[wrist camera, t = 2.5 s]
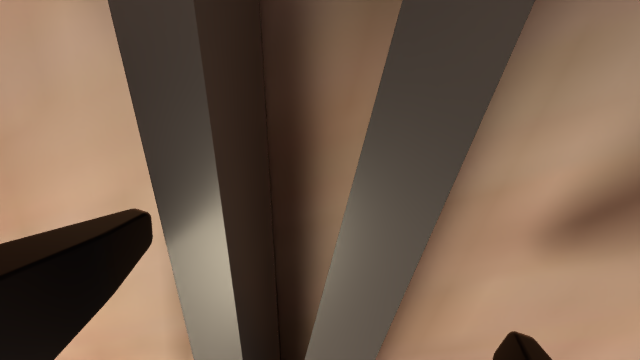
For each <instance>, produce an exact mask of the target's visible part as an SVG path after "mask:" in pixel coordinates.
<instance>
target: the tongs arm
mask: <svg viewBox="0 0 640 360" xmlns="http://www.w3.org/2000/svg"><path fill="white" fill-rule="evenodd" d="M108 3H109V7H110V12H111V16H112V20H113V24H114V28H115V32H116V37H117V41H118V45H119V49H120V53H121V57H122V62H123V66H124V70H125V74H126V78H127V82H128V87H129V91H130V95H131V99H132V103H133V108H134V112H135V116H136V120H137V124H138V128H139V133H140V137H141V141H142V145H143V149H144V153H145V158H146V162H147V166H148V170H149V174H150V179H151V183H152V187H153V191H154V195H155V199H156V204H157V208H158V212H159V216H160V220H161V224H162V229H163V233H164V237H165V241H166V245H167V249H168V254H169V258H170V262H171V266H172V270H173V275H174V279H175V283H176V287H177V291H178V295H179V300H180V304H181V308H182V312H183V316H184V320H185V325H186V329H187V333H188V337H189V341H190V345H191V350H192V354H193V358H194V360H280V350H279V332H278V315H277V298H276V280H275V263H274V246H273V229H272V211H271V194H270V177H269V159H268V142H267V125H266V107H265V90H264V73H263V56H262V38H261V21H260V4H259V0H108Z"/></svg>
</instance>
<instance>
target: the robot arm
mask: <svg viewBox="0 0 640 360" xmlns="http://www.w3.org/2000/svg"><path fill="white" fill-rule="evenodd" d="M152 239H153V235H152V221H151V216H150V214H149V213H148V212H145V211H142V210H139V209H129V210H125V211H122V212H118V213H114V214H110V215H107V216H103V217H99V218H96V219H92V220H88V221H84V222H81V223H77V224H73V225H69V226H66V227H62V228H58V229H54V230H51V231H47V232H43V233H39V234H36V235H32V236H28V237H24V238H21V239H17V240H13V241H10V242H6V243H2V244H0V360H54V359H55V358H56V357H57V356H58V355H59V354H60V353H61V352H62V350H63V349H64V348H65V347H66V346H67V345H68V344H69V343H70V342H71V341H72V339H73V338H74V337H75V336H76V335H77V334H78V333H79V332H80V331H81V330H82V329H83V327H84V326H85V325H86V324H87V323H88V322H89V321H90V320H91V319H92V318H93V317H94V315H95V314H96V313H97V312H98V311H99V310H100V309H101V308H102V307H103V306H104V305H105V303H106V302H107V301H108V300H109V299H110V298H111V297H112V295H113V294H114V293H115V292H116V290H117V289H118V288H119V287H120V285H121V284H122V283H123V281H124V280H125V279H126V277H127V276H128V275H129V273H130V272H131V271H132V269H133V268H134V267H135V265H136V264H137V263H138V261H139V260H140V259H141V257H142V256H143V255H144V253H145V252H146V251H147V249H148V248H149V247H150V245H151V243H152ZM493 360H552V359H551V358H550V357H549V355H548V354H547V353H546V352H545V351H544V350H543V349H542V347H541V346H540V345H539V344H538V343H537V342H536V341H535V340H534V339H533V338H532V337H530V336H528V335H525V334H522V333H518V332H515V331H512V332H510V333H509V334H508V335H507V336H506V338H505V339H504V340H503V342H502V343H501V344H500V346H499V347H498V349H497V350H496V351H495V353H494V356H493Z"/></svg>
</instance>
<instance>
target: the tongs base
mask: <svg viewBox="0 0 640 360" xmlns="http://www.w3.org/2000/svg"><path fill="white" fill-rule="evenodd" d="M534 2H535V0H403V1H402V4H401V8H400V12H399V15H398V19H397V23H396V26H395V30H394V34H393V37H392V41H391V45H390V48H389V52H388V56H387V59H386V63H385V67H384V70H383V74H382V78H381V81H380V85H379V89H378V92H377V96H376V100H375V103H374V107H373V111H372V114H371V118H370V122H369V125H368V129H367V133H366V136H365V140H364V144H363V147H362V151H361V155H360V158H359V162H358V166H357V169H356V173H355V177H354V180H353V184H352V188H351V191H350V195H349V199H348V202H347V206H346V210H345V213H344V217H343V221H342V224H341V228H340V232H339V235H338V239H337V243H336V246H335V250H334V254H333V257H332V261H331V265H330V268H329V272H328V276H327V279H326V283H325V287H324V290H323V294H322V298H321V301H320V305H319V309H318V312H317V316H316V320H315V323H314V327H313V331H312V334H311V338H310V342H309V345H308V349H307V353H306V356H305V360H375V359H376V357H377V355H378V352H379V350H380V348H381V346H382V343H383V341H384V339H385V337H386V334H387V332H388V330H389V328H390V326H391V323H392V321H393V319H394V317H395V314H396V312H397V310H398V308H399V305H400V303H401V301H402V299H403V296H404V294H405V292H406V290H407V287H408V285H409V283H410V281H411V278H412V276H413V274H414V272H415V269H416V267H417V265H418V263H419V260H420V258H421V256H422V254H423V251H424V249H425V247H426V245H427V242H428V240H429V238H430V236H431V233H432V231H433V229H434V227H435V224H436V222H437V220H438V218H439V215H440V213H441V211H442V209H443V206H444V204H445V202H446V200H447V197H448V195H449V193H450V191H451V188H452V186H453V184H454V182H455V179H456V177H457V175H458V173H459V170H460V168H461V166H462V164H463V161H464V159H465V157H466V155H467V152H468V150H469V148H470V146H471V143H472V141H473V139H474V137H475V134H476V132H477V130H478V128H479V125H480V123H481V121H482V119H483V116H484V114H485V112H486V110H487V107H488V105H489V103H490V101H491V98H492V96H493V94H494V92H495V89H496V87H497V85H498V83H499V81H500V78H501V76H502V74H503V72H504V69H505V67H506V65H507V63H508V60H509V58H510V56H511V54H512V51H513V49H514V47H515V45H516V42H517V40H518V38H519V36H520V33H521V31H522V29H523V27H524V24H525V22H526V20H527V18H528V15H529V13H530V11H531V9H532V6H533V4H534Z"/></svg>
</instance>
